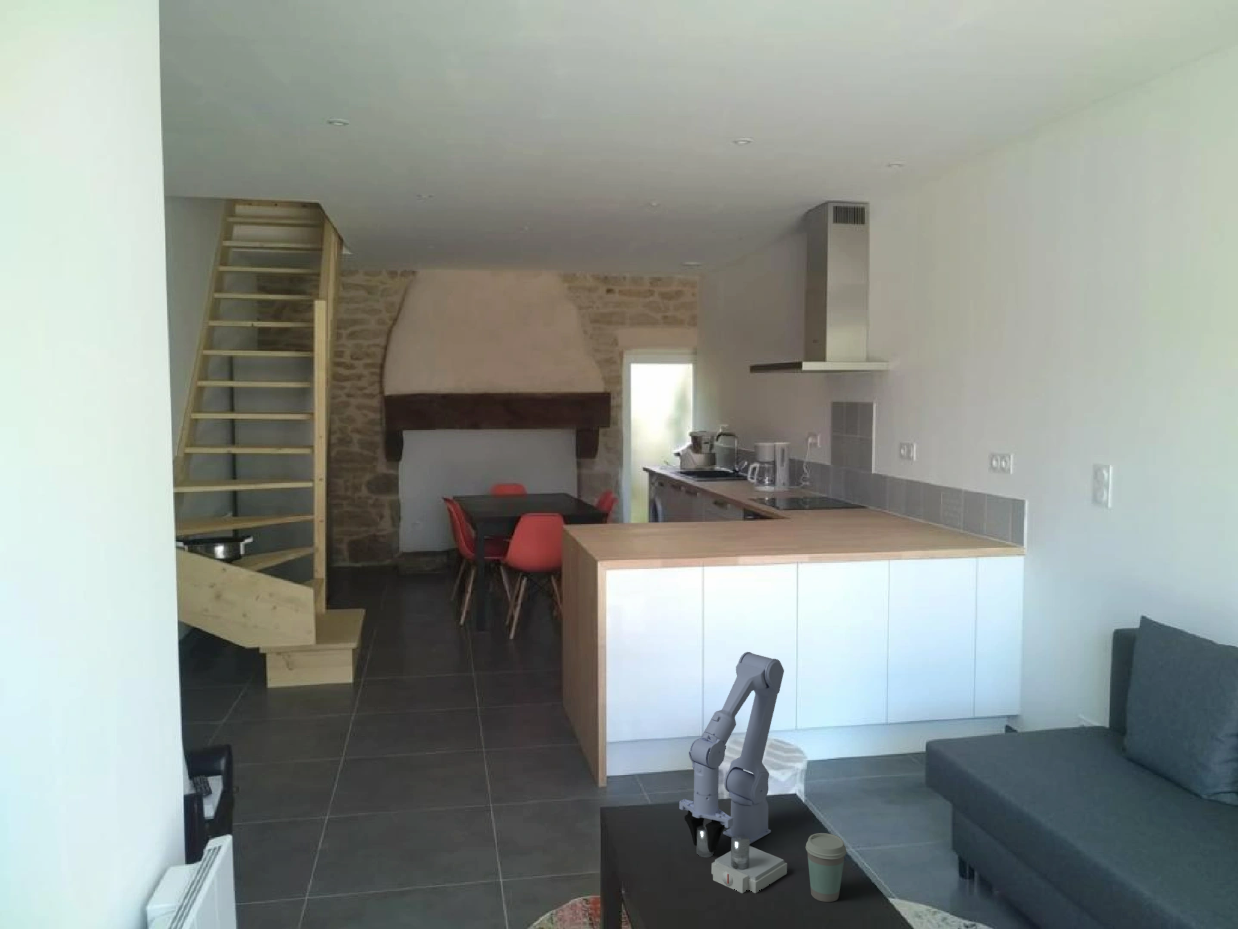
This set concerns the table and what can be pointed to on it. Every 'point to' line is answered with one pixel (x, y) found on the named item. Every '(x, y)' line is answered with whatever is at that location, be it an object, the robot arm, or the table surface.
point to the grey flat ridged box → (749, 871)
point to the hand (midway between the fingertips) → (705, 847)
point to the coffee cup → (825, 865)
